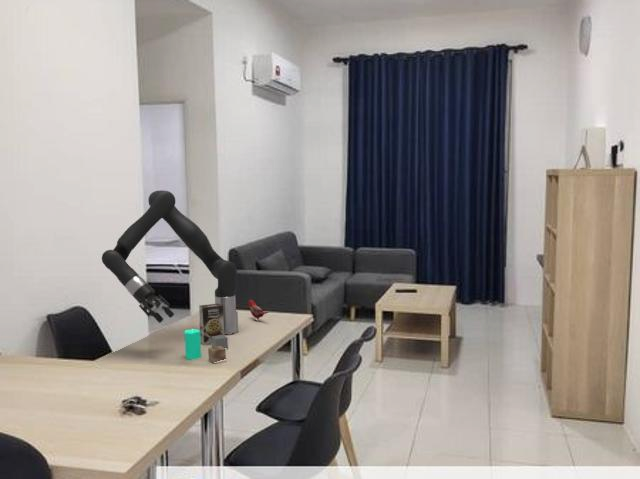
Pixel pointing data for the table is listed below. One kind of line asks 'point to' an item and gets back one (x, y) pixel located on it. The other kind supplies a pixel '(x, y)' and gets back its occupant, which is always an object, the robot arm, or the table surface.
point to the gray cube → (219, 341)
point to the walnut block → (216, 353)
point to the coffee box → (211, 322)
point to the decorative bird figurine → (255, 310)
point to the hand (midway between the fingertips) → (167, 318)
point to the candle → (192, 344)
